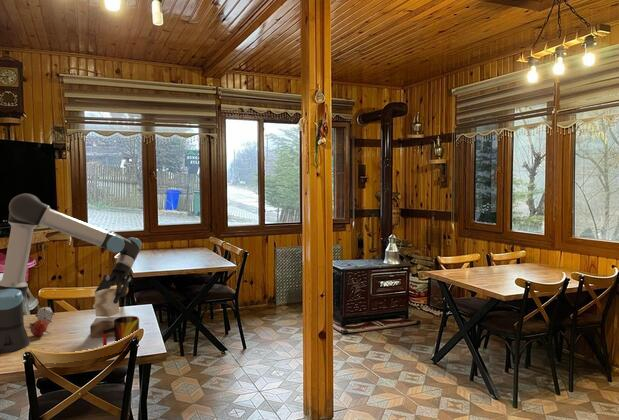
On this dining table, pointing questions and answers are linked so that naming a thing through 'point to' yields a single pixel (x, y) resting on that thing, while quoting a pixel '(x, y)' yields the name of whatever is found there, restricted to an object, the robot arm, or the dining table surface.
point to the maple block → (105, 303)
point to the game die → (45, 314)
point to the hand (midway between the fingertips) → (102, 308)
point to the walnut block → (102, 327)
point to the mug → (122, 327)
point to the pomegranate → (39, 328)
